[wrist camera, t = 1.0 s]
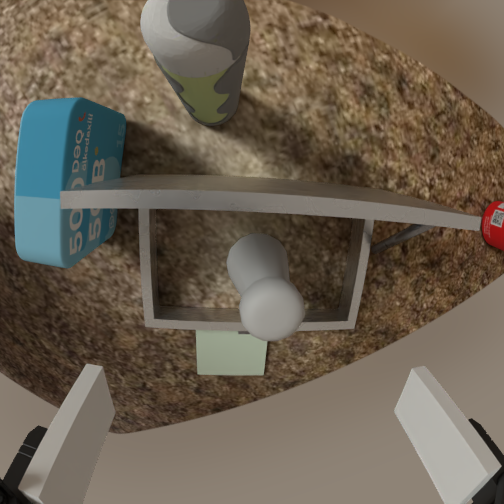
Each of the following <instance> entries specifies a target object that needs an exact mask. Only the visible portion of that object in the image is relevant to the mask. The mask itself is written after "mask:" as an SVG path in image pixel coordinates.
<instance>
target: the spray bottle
mask: <svg viewBox="0 0 504 504" xmlns="http://www.w3.org/2000/svg"><path fill="white" fill-rule="evenodd" d="M141 31H142V34H143V38H144V40H145V42H146V44H147V46H148V47H149V49H150V50H151V52H152V53H153V56H154V58H155V61H156V63H157V65H158V66H159V68H160V69H161V71H162V72H163V74H164V75H165V77H166V78H167V80H168V82H169V83H170V85H171V86H172V88H173V89H174V91H175V92H176V94H177V95H178V97H179V99H180V100H181V102H182V103H183V105H184V106H185V108H186V110H187V111H188V113H189V114H190V116H191V117H192V118H193V119H194V120H195V121H197V122H198V123H200V124H203V125H207V126H216V125H220V124H223V123H225V122H226V121H228V120H229V119H230V118H231V117H232V116H233V115H234V114H235V112H236V110H237V107H238V102H239V96H240V90H241V84H242V78H243V73H244V67H245V61H246V56H247V50H248V45H249V38H250V20H249V15H248V11H247V8H246V5H245V3H244V0H148V1H147V3H146V4H145V6H144V8H143V11H142V14H141Z"/></svg>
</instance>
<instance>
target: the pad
mask: <svg viewBox="0 0 504 504" xmlns="http://www.w3.org/2000/svg"><path fill="white" fill-rule="evenodd" d="M266 349H267V341H262V340H260V339H258V338H256V337H253V336H252V335H251V334H238V331H215V330H196V350H197V374H203V375H264V368H265V359H266Z"/></svg>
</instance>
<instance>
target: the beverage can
mask: <svg viewBox="0 0 504 504" xmlns="http://www.w3.org/2000/svg"><path fill="white" fill-rule="evenodd" d="M482 233H483V237H484V239H485V241H486V242H487V243H488V244H489V245H491V246H494V247H496V248H498V249H501V250H503V251H504V202H501V201H495V202H493V203H491V204H490V205H489V206H488V207H487V209H486V210H485V212H484V214H483V218H482Z"/></svg>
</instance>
